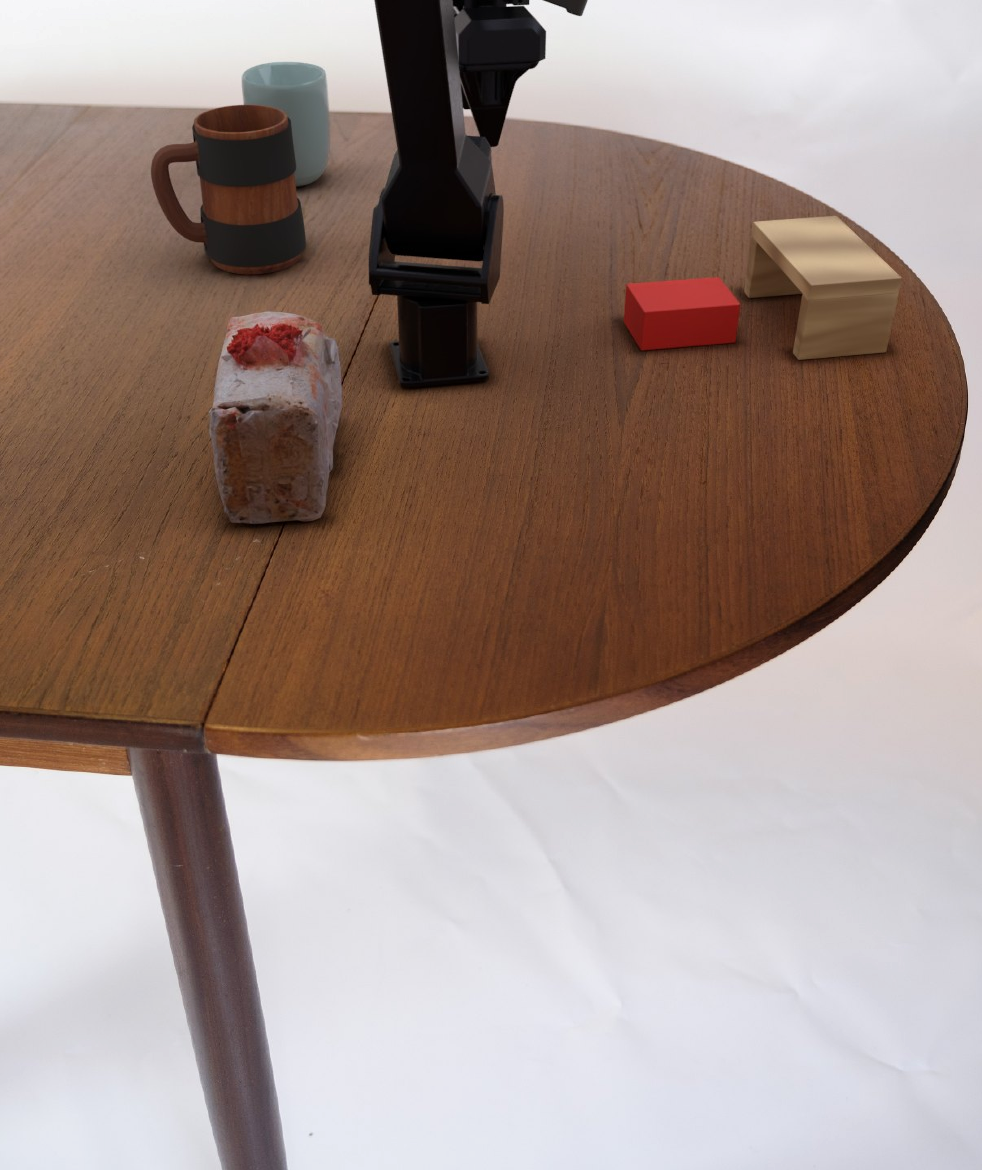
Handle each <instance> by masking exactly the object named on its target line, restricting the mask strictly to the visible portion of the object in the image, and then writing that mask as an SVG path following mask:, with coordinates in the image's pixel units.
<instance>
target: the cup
mask: <svg viewBox="0 0 982 1170" xmlns="http://www.w3.org/2000/svg"><path fill="white" fill-rule="evenodd" d="M241 93H242V103H243V104H242V105H262V106H269V107H273V108H277V109H280V110H282V111H283V112H285V113H286V115H287V117H289V119H290V120H291V126H292V136H293V144H294V152H295V159H296V171H295V172H294V175H295V184H296V188H297V187H304V186H308V185H311V184H312V183H315V182H316V181H317V180H318V179H320V178H321V177H322V176H323V174H324V173H325V171H326V169H327V166H328V164H329V163H328V162H329V159H330V150H331V118H330V117H331V116H330V102H329V101H330V99H329V87H328V79H327V73H326V71H325V69H324V68H323V67H322V66H320V65H316V64H313V63H307V62H301V61H299V62H298V61H274V62H265V63H261V64H257V65H254V66H251V67H249V68H247V69H245V71H243V73H242V75H241Z"/></svg>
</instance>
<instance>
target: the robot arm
mask: <svg viewBox="0 0 982 1170" xmlns="http://www.w3.org/2000/svg"><path fill="white" fill-rule="evenodd" d="M542 1H543V2H546V3H548V4H552V5H554V6H557V7H559V8H562V9H565V11H566V12H567V13H568V14H570V15H574V16H576V17H582V16H583V15H584V12H585V9H586V6H587V4H588V1H589V0H542ZM373 2H374V7H375V14H376V19H377V27H378V33H379V39H380V40H379V41H380V46H381V52H382V59H383V65H384V73H385V78H386V84H387V91H388V97H389V104H390V108H391V109H390V111H391V117H392V123H393V129H394V135H395V136H394V137H395V143H396V151H395V153H394V154H393V157H392V160H391V164H390V168H389V171H388V175H387V179H386V181H385V182H386V183H385V185H384V187H382V189H381V192H380V195H379V199H378V203H377V204H376V205H375V207H374V208H373V209H372V211H373V212H372V220H371V227H370V228H371V230H370V239H369V246H368V247H369V249H368V285H369V286H370V290H371V295H372V296H381V295H383V296H384V295H385V296H394V297H395V296H396V302H397V303H396V306H397V326H398V327H397V329H398V340H393V341H391V342H390V343H389V350H390V354H391V358H392V361H393V365H394V369H395V373H396V376H397V380H398V383H399V386H400V387H401V388H405V389H407V388H408V389H409V388H418V387H430V386H440V385H452V384H463V383H474V382H476V383H477V382H484V381H487V380H489V379H490V372H489V371H490V370H489V369H488V366H487V364H486V361H485V358H484V356H483V354H482V351H481V349H480V346H479V344H478V303H481V304H482V305H490V304H491V301H492V299H493V296H494V293H495V291H496V288H497V286H498V283H499V281H500V277H501V265H502V263H501V261H502V248H503V247H502V246H503V233H504V217H505V209H504V208H505V204H504V197H503V195H502V194H497V193H496V185H495V176H494V169H493V162H492V160H493V159H492V148H496V147H498V146H499V143H500V140H501V136H502V133H503V129H504V125H505V121H506V117H507V113H508V110H509V106H510V103H511V100H512V96H513V93H514V89H515V87H516V83H517V81H518V80H519V79H520V78H521V77H522V76H523V75H524V74H526V73H527V72H528V71H529V70H533V69H535V68H536V67H537V66H539V64H540V62H541V61H544V60H546V56H547V55H546V51H547V30H546V29H545V28H544V27H543V26H542V24H541V23H540V22H539V21H538V20H537V18H536V17H535V16H534V15H533V14H532V13H531V12H530V11H529V10H528V9H527V8H526V7H525V6H529V5H530V0H373ZM507 5H511V6H507ZM464 110H470V112H471V116H472V119H473V121H474V124H475V127H476V129H477V132H478V135H467V131H466V125H465V124H466V123H465V113H464ZM396 256H398V257H413V258H424V259H425V258H427V259H440V260H441V259H442V260H452V261H467V262H478V263H482V264H481V267H473V266H472V267H471V266H461V265H460V266H459V265H449V264H448V265H446V264H435V263H434V264H433V263H422V262H408V261H396Z"/></svg>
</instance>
